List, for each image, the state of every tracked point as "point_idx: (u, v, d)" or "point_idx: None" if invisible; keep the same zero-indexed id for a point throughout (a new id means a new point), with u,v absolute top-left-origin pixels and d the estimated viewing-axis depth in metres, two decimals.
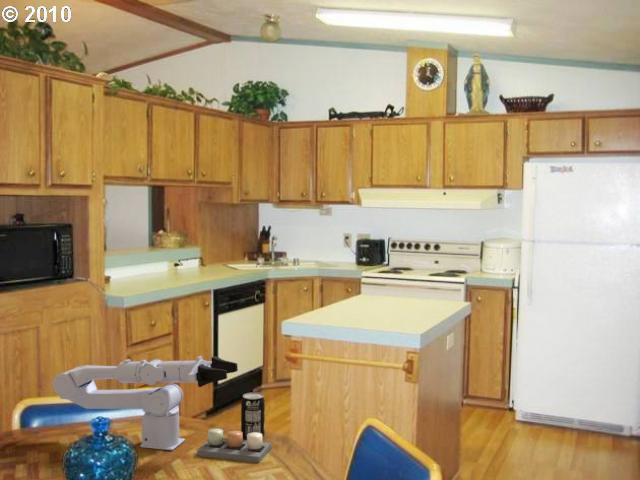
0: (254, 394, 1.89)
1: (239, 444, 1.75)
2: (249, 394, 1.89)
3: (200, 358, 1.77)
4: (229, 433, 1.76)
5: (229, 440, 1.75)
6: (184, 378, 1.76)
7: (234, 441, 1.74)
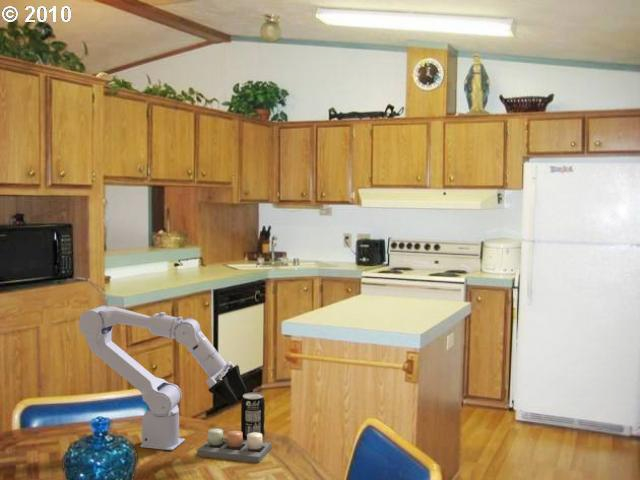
0: (254, 394, 1.89)
1: (239, 444, 1.75)
2: (249, 394, 1.89)
3: (229, 365, 1.77)
4: (229, 433, 1.76)
5: (229, 440, 1.75)
6: (204, 366, 1.76)
7: (234, 441, 1.74)
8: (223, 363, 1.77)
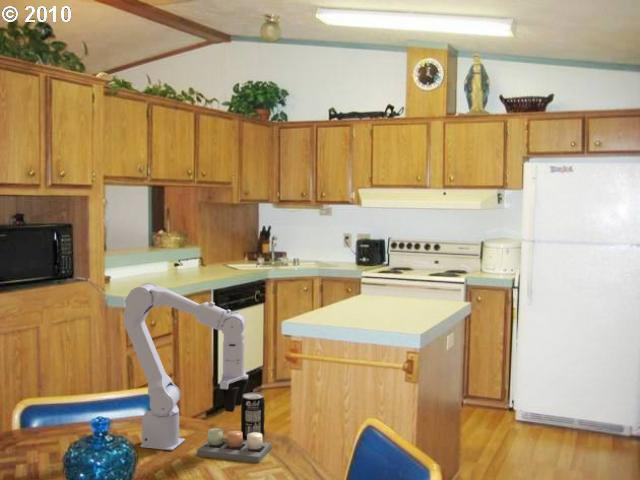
0: (254, 394, 1.89)
1: (239, 444, 1.75)
2: (249, 394, 1.89)
3: None
4: (229, 433, 1.76)
5: (229, 440, 1.75)
6: (225, 364, 1.77)
7: (234, 441, 1.74)
8: (242, 373, 1.78)
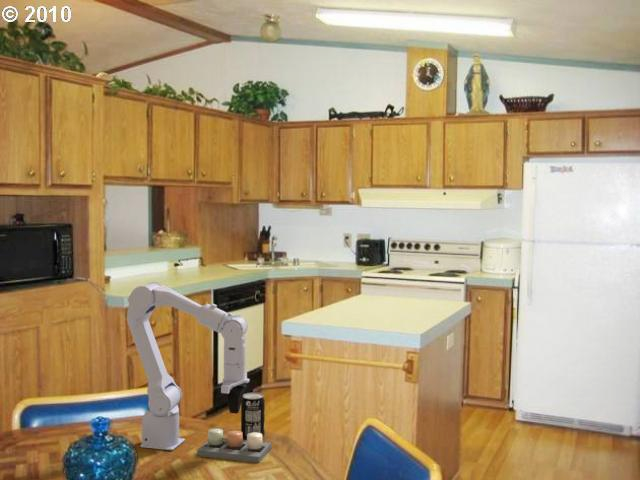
0: (254, 394, 1.89)
1: (239, 444, 1.75)
2: (249, 394, 1.89)
3: None
4: (229, 433, 1.76)
5: (229, 440, 1.75)
6: (226, 368, 1.75)
7: (234, 441, 1.74)
8: (243, 377, 1.76)
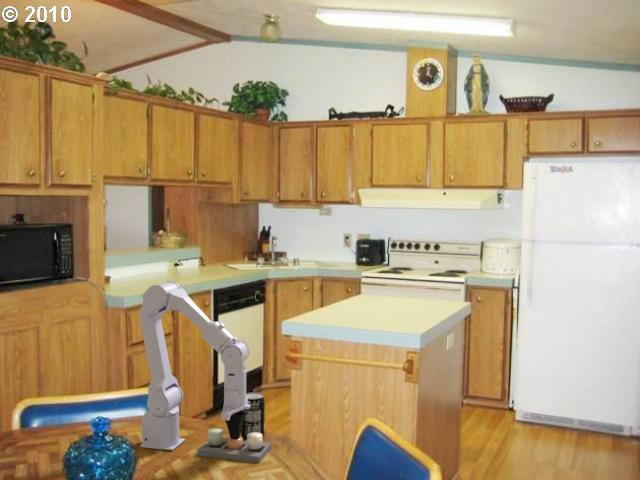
0: (254, 394, 1.89)
1: (239, 449, 1.75)
2: (249, 394, 1.89)
3: None
4: (229, 438, 1.76)
5: (229, 446, 1.75)
6: (227, 394, 1.73)
7: (233, 446, 1.74)
8: (244, 403, 1.75)
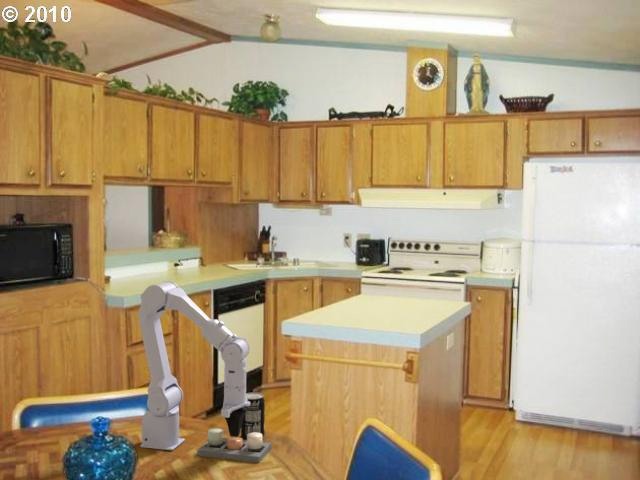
0: (254, 394, 1.89)
1: None
2: (249, 394, 1.89)
3: None
4: (229, 440, 1.76)
5: (229, 447, 1.75)
6: (227, 391, 1.73)
7: (233, 448, 1.74)
8: (244, 400, 1.74)
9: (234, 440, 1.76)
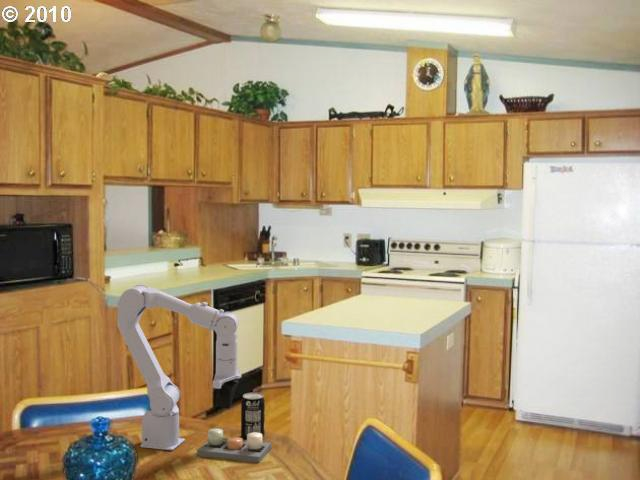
0: (254, 394, 1.89)
1: None
2: (249, 394, 1.89)
3: None
4: (229, 440, 1.76)
5: (229, 447, 1.75)
6: (218, 364, 1.78)
7: (233, 448, 1.74)
8: (235, 372, 1.79)
9: (234, 440, 1.76)
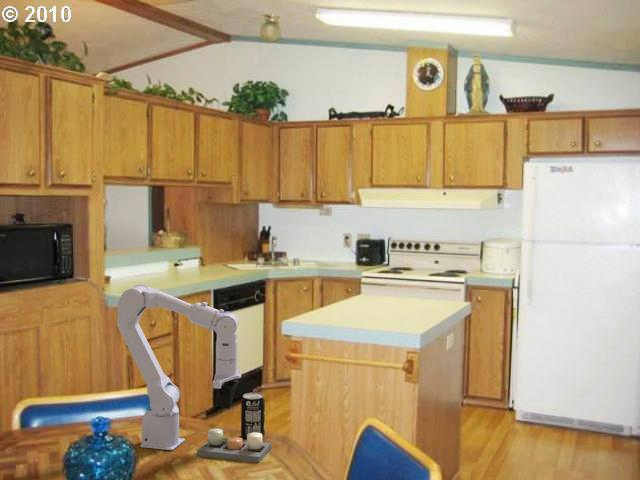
0: (254, 394, 1.89)
1: None
2: (249, 394, 1.89)
3: None
4: (229, 440, 1.76)
5: (229, 447, 1.75)
6: (218, 364, 1.78)
7: (233, 448, 1.74)
8: (235, 372, 1.79)
9: (234, 440, 1.76)
